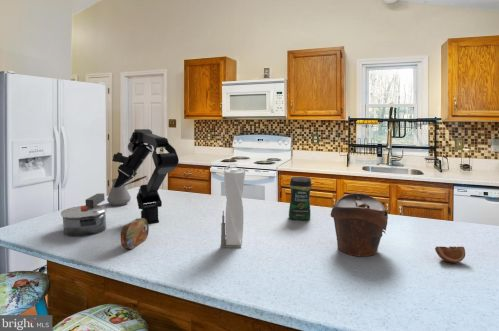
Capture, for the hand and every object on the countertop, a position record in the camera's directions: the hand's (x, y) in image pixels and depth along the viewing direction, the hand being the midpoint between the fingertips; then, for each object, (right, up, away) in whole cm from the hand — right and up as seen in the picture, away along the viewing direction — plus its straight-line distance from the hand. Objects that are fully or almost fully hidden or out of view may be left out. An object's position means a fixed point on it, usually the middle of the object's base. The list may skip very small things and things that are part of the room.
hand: (116, 187), depth 146 cm
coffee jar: (+79, -14, +8) cm, 80 cm away
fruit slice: (+118, -21, -38) cm, 126 cm away
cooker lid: (-8, -9, -7) cm, 14 cm away
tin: (+16, -19, -25) cm, 35 cm away
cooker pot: (-9, -16, -9) cm, 20 cm away
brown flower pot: (+93, -19, -30) cm, 99 cm away
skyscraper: (+51, -19, -24) cm, 59 cm away
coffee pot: (-6, -11, +31) cm, 33 cm away
